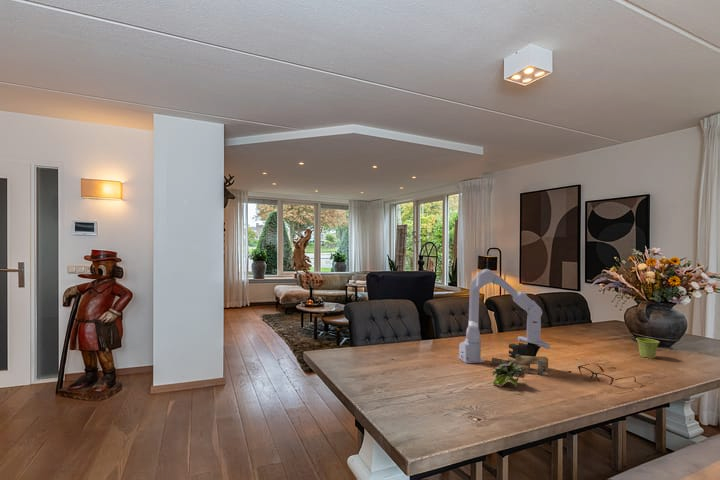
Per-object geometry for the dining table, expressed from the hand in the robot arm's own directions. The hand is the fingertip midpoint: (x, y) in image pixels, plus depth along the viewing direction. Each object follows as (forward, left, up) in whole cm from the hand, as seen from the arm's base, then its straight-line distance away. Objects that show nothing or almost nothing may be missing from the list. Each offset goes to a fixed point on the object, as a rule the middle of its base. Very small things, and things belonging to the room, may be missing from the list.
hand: (532, 360), depth 156 cm
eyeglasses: (+23, -16, -4) cm, 28 cm away
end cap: (+5, +14, -4) cm, 15 cm away
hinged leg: (-3, -2, -3) cm, 4 cm away
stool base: (-8, 0, -3) cm, 9 cm away
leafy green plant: (-25, -16, -3) cm, 30 cm away
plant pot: (+74, +5, -3) cm, 74 cm away
